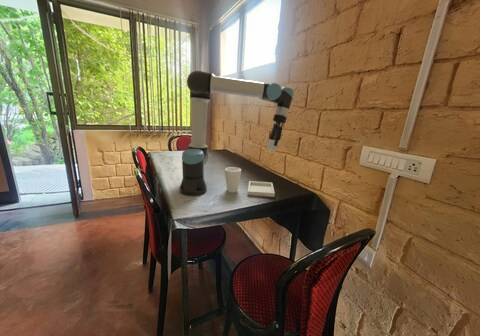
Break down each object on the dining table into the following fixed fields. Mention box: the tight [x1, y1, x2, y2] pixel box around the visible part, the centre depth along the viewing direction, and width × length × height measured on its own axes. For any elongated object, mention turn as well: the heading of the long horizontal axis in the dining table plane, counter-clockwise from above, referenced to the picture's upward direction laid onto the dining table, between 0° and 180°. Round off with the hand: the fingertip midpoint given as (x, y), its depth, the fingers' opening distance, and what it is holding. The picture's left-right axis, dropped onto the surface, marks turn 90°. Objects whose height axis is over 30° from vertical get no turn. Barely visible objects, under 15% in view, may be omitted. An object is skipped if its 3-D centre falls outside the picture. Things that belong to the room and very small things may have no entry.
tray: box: [247, 180, 276, 198], centre depth 122 cm, size 15×18×2 cm
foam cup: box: [224, 166, 242, 193], centre depth 119 cm, size 10×9×13 cm
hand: (270, 150), depth 122 cm, fingers open, 13 cm apart
